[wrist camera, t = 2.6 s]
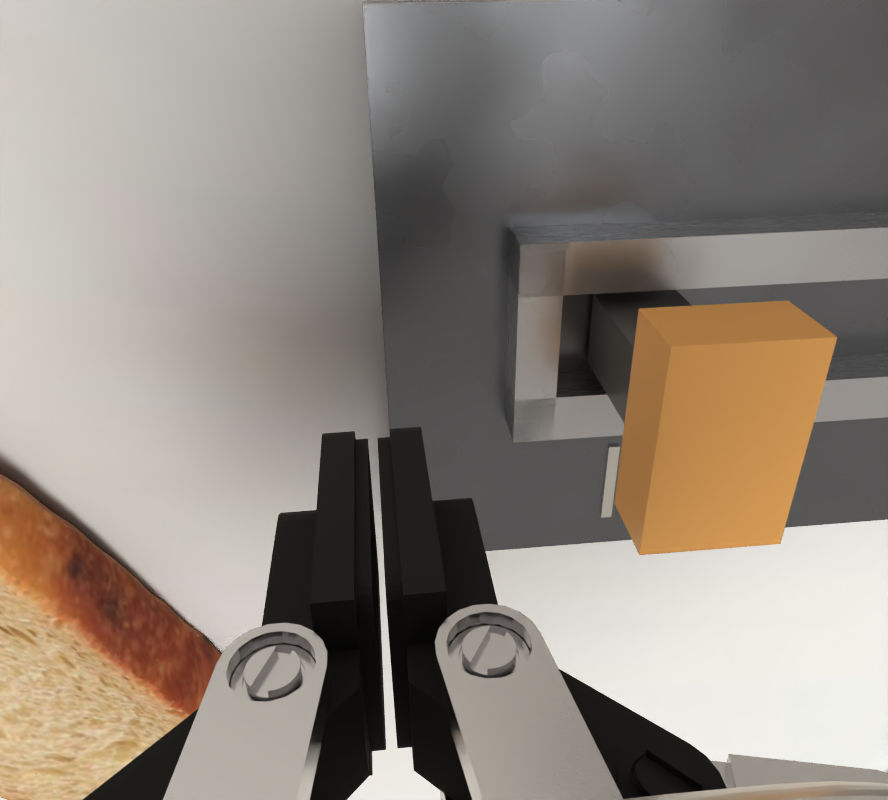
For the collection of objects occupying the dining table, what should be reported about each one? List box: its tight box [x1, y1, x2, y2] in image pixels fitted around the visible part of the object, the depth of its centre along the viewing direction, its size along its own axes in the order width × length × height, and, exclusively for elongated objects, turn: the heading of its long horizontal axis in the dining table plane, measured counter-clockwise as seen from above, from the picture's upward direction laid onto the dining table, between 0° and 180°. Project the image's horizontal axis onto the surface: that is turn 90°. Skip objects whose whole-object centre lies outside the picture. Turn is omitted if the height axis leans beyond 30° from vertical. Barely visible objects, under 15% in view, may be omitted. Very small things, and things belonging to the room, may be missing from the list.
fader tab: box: [587, 290, 837, 555], centre depth 15 cm, size 3×4×6 cm, turn 1°
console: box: [363, 0, 888, 551], centre depth 19 cm, size 26×14×3 cm, turn 91°
